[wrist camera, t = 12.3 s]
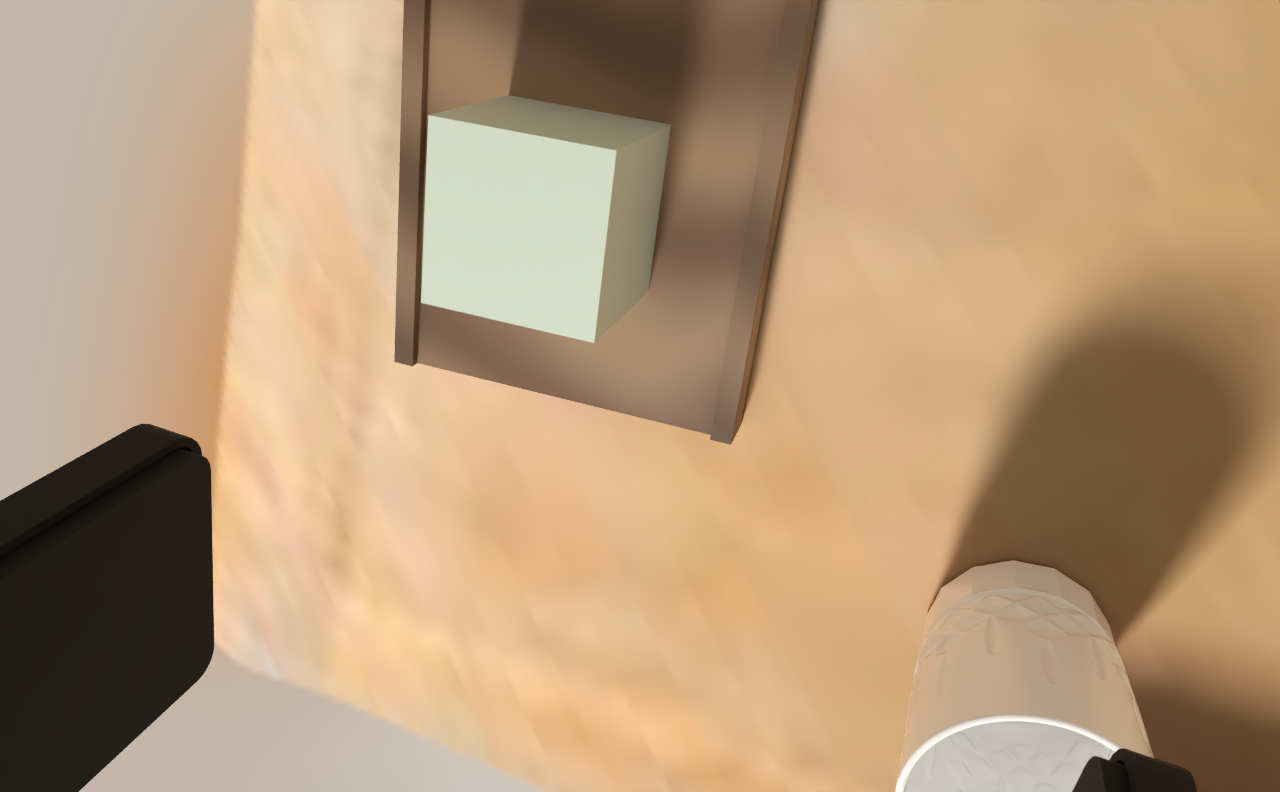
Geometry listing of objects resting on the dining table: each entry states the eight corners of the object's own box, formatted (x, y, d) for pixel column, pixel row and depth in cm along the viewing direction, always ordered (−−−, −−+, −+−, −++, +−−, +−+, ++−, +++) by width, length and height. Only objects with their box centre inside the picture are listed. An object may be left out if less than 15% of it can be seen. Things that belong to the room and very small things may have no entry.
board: (432, -70, 36) (405, -73, 34) (822, -14, 33) (814, -15, 31) (417, 346, 42) (394, 361, 41) (740, 424, 39) (730, 444, 38)
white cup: (904, 543, 39) (885, 707, 30) (1127, 545, 37) (1178, 725, 28) (916, 711, 42) (902, 907, 33) (1125, 724, 39) (1171, 939, 31)
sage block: (508, 95, 36) (428, 115, 30) (671, 124, 34) (616, 150, 29) (497, 258, 38) (421, 302, 33) (648, 291, 37) (594, 343, 32)
